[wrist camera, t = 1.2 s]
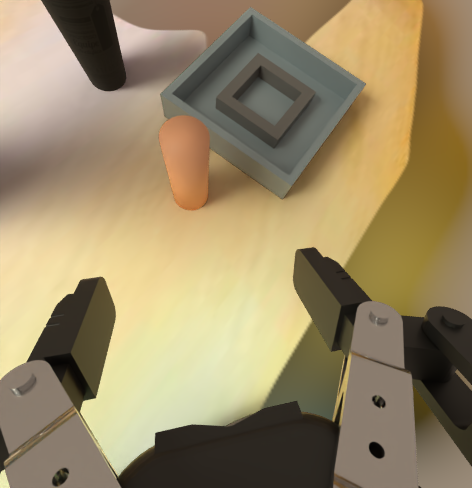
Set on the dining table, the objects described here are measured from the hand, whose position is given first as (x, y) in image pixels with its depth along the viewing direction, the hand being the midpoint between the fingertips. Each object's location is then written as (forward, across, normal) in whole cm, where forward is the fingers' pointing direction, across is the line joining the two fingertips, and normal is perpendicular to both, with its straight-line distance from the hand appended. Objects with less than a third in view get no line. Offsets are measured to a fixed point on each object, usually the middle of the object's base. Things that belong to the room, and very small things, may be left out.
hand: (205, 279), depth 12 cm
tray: (+33, -12, -3) cm, 36 cm away
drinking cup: (+38, +9, -8) cm, 40 cm away
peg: (+25, 0, +5) cm, 25 cm away
